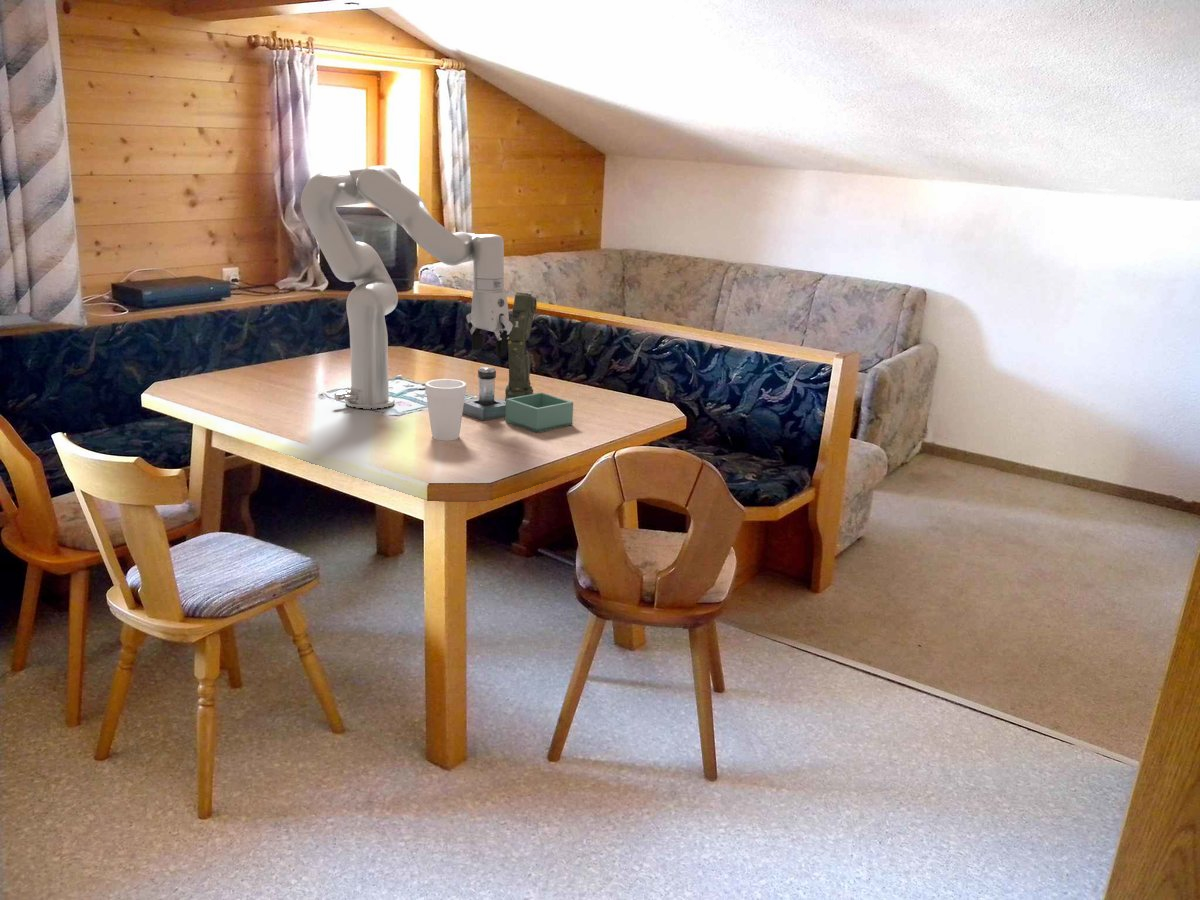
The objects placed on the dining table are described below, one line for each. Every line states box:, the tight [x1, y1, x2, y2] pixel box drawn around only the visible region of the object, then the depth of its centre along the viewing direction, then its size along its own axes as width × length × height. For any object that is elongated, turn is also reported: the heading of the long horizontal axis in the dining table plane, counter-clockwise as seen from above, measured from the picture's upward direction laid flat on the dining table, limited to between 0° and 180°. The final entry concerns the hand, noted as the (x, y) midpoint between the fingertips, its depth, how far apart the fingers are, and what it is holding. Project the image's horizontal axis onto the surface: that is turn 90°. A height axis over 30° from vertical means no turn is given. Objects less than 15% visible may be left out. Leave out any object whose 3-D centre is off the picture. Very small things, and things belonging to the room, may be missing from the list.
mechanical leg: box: [504, 292, 538, 401], centre depth 275 cm, size 14×7×30 cm, turn 168°
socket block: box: [462, 396, 506, 422], centre depth 260 cm, size 10×10×3 cm
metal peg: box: [477, 366, 497, 406], centre depth 259 cm, size 5×5×12 cm
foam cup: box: [424, 378, 467, 442], centre depth 237 cm, size 10×9×13 cm
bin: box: [504, 392, 574, 433], centre depth 253 cm, size 12×12×6 cm
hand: (489, 352), depth 256 cm, fingers open, 9 cm apart
